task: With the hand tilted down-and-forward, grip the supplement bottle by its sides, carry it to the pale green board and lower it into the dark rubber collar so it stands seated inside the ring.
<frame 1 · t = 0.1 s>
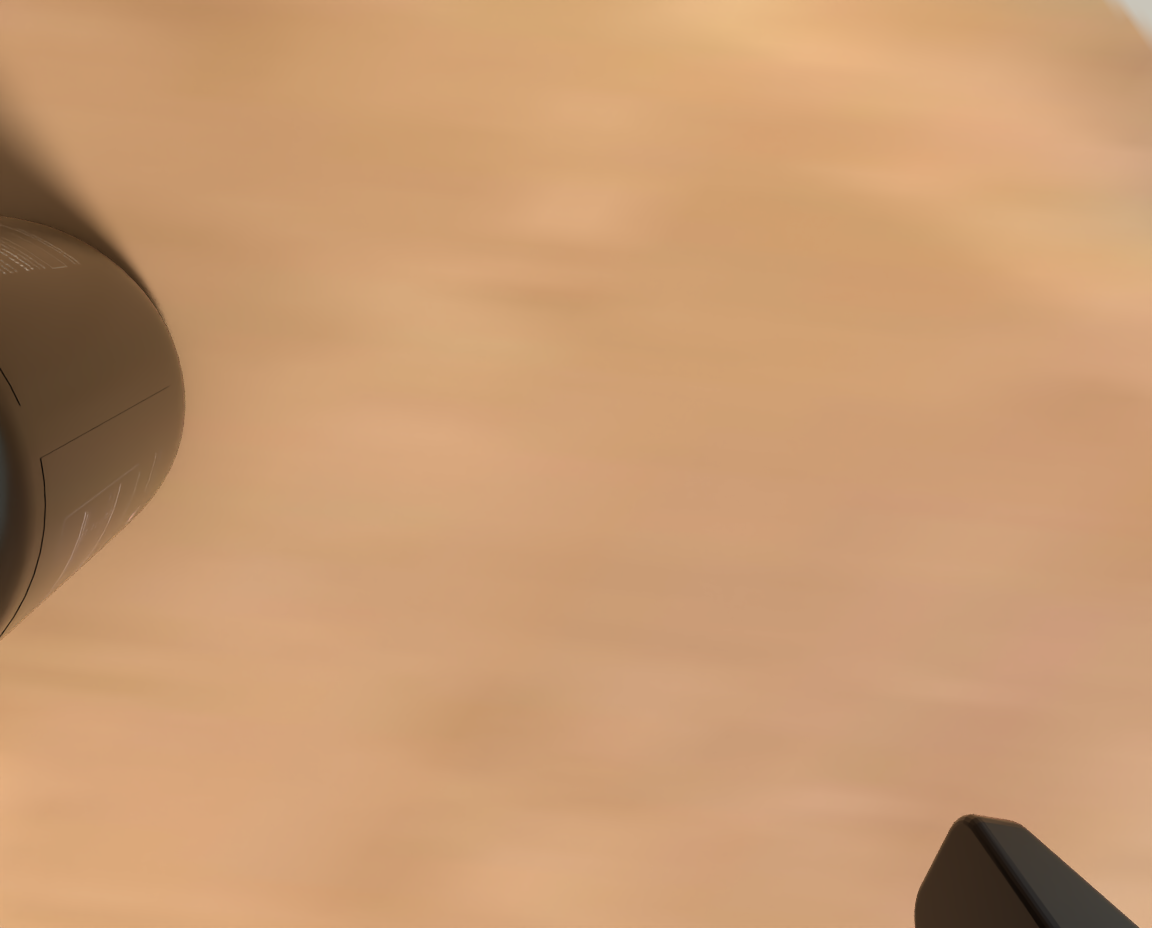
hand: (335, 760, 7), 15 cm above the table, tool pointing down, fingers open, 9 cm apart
supplement bottle: (24, 390, 22), on the table
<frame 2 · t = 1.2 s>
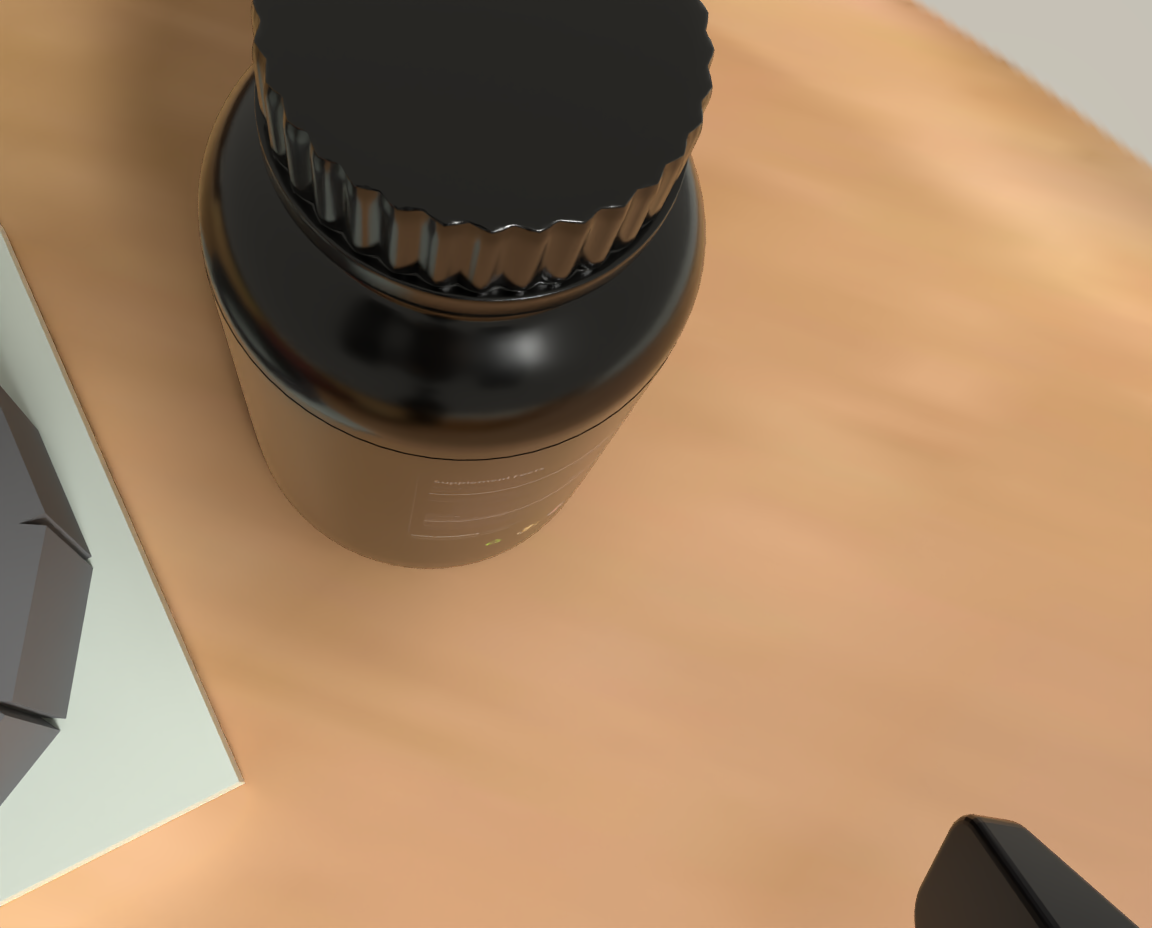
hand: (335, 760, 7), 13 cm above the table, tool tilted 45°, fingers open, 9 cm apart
supplement bottle: (427, 419, 22), on the table
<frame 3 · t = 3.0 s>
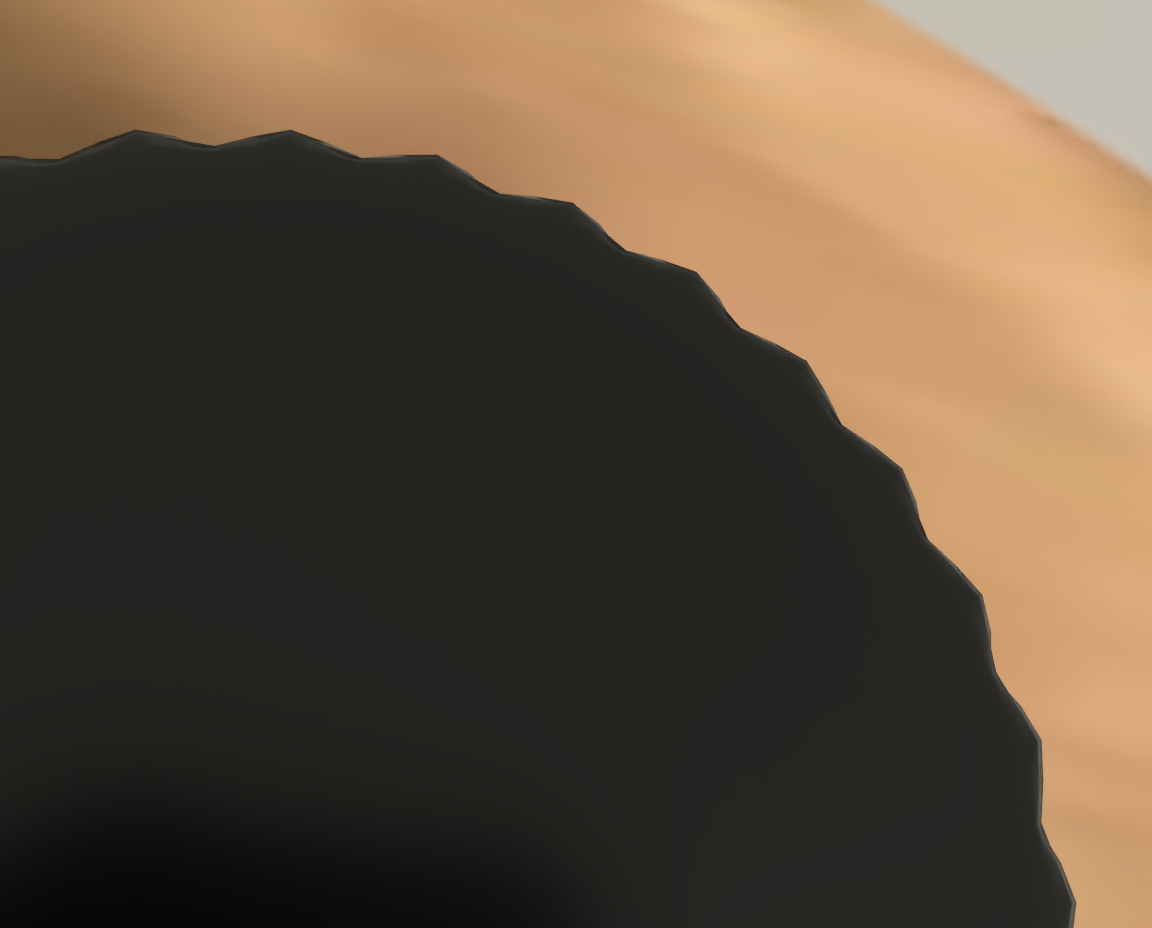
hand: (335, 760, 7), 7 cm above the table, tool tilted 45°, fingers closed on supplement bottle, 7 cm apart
supplement bottle: (341, 828, 14), on the table, touching gripper
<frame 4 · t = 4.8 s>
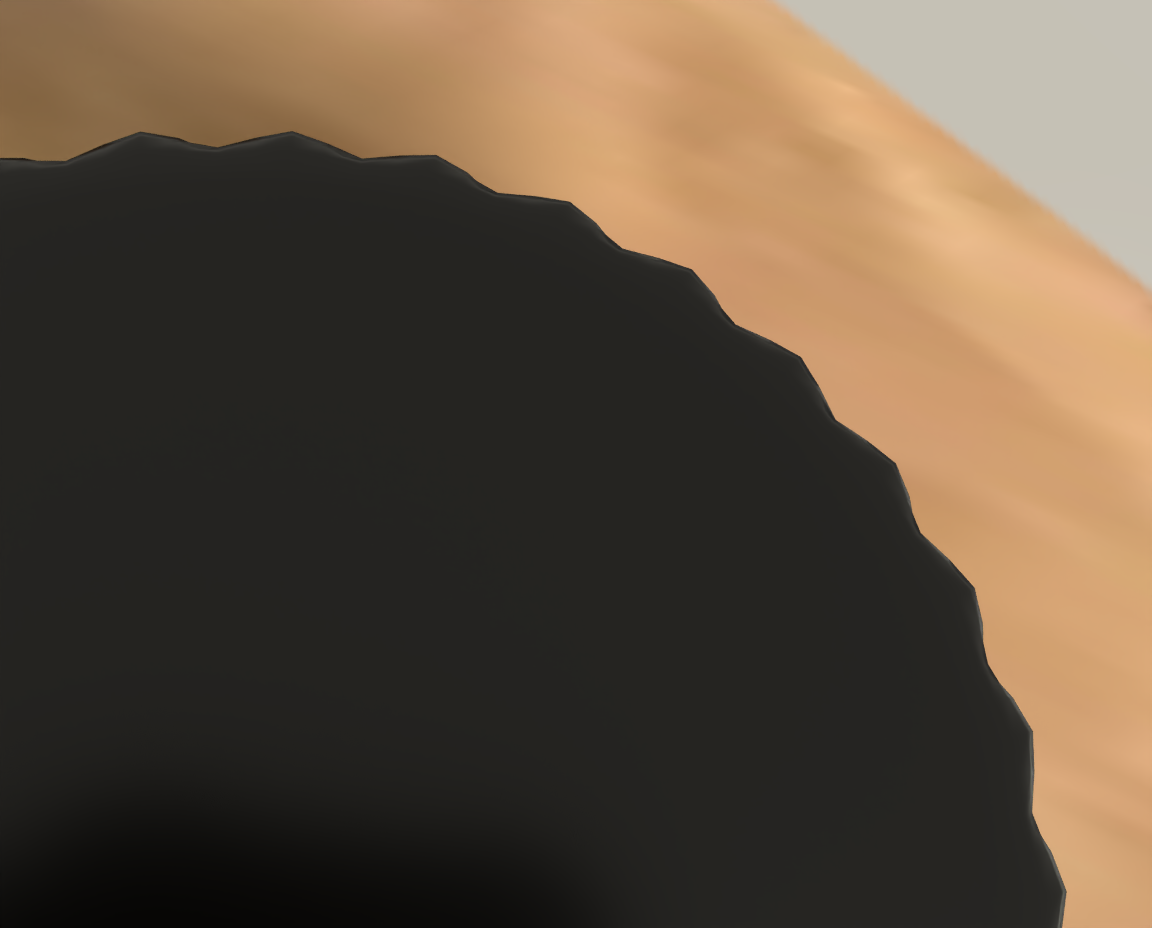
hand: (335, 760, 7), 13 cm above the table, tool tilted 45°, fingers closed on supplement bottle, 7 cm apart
supplement bottle: (351, 824, 14), point 6 cm above the table, touching gripper
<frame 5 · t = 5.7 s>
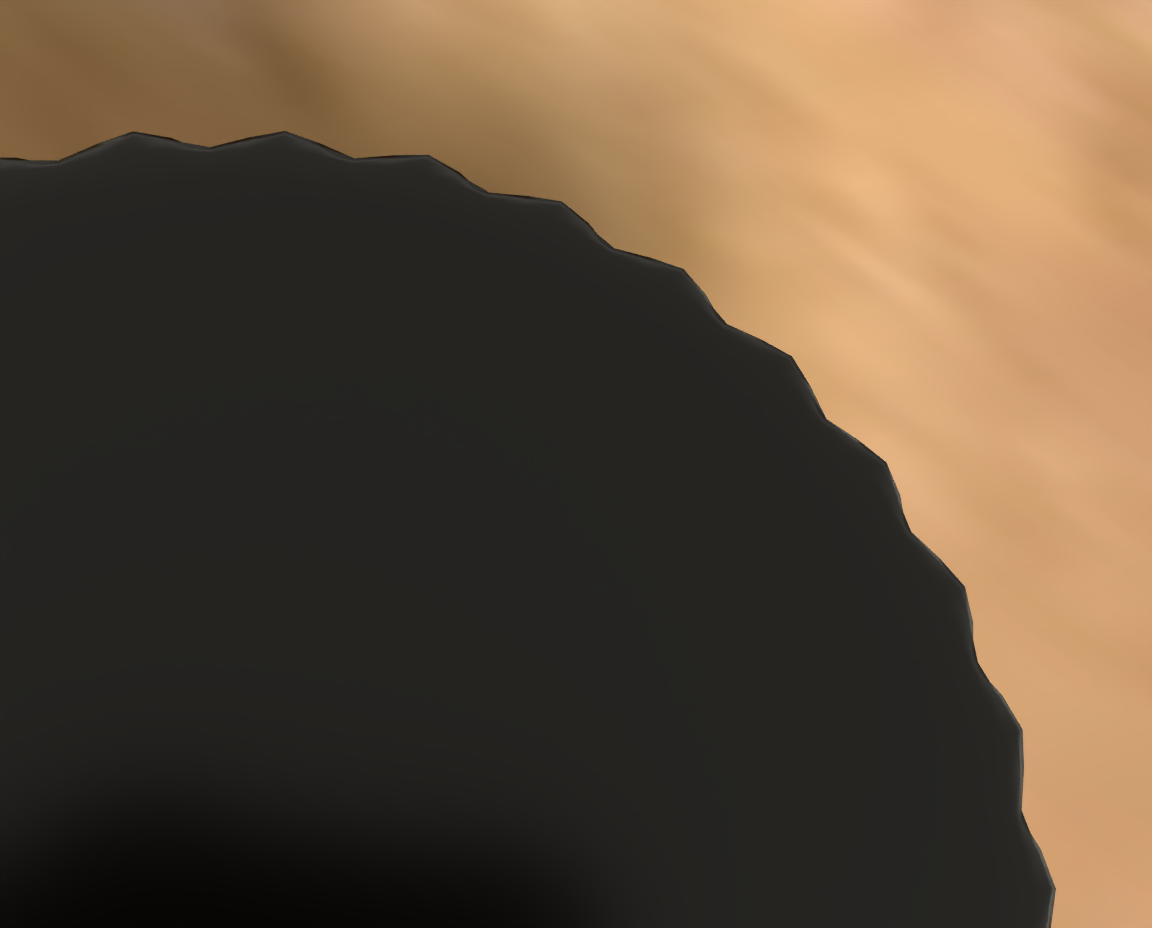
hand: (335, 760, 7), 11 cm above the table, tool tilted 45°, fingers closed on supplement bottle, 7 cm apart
supplement bottle: (348, 823, 14), point 4 cm above the table, touching gripper
when the fingers open (10 cm above the table, at t = 6.3 s): supplement bottle drops 2 cm, resting on board.
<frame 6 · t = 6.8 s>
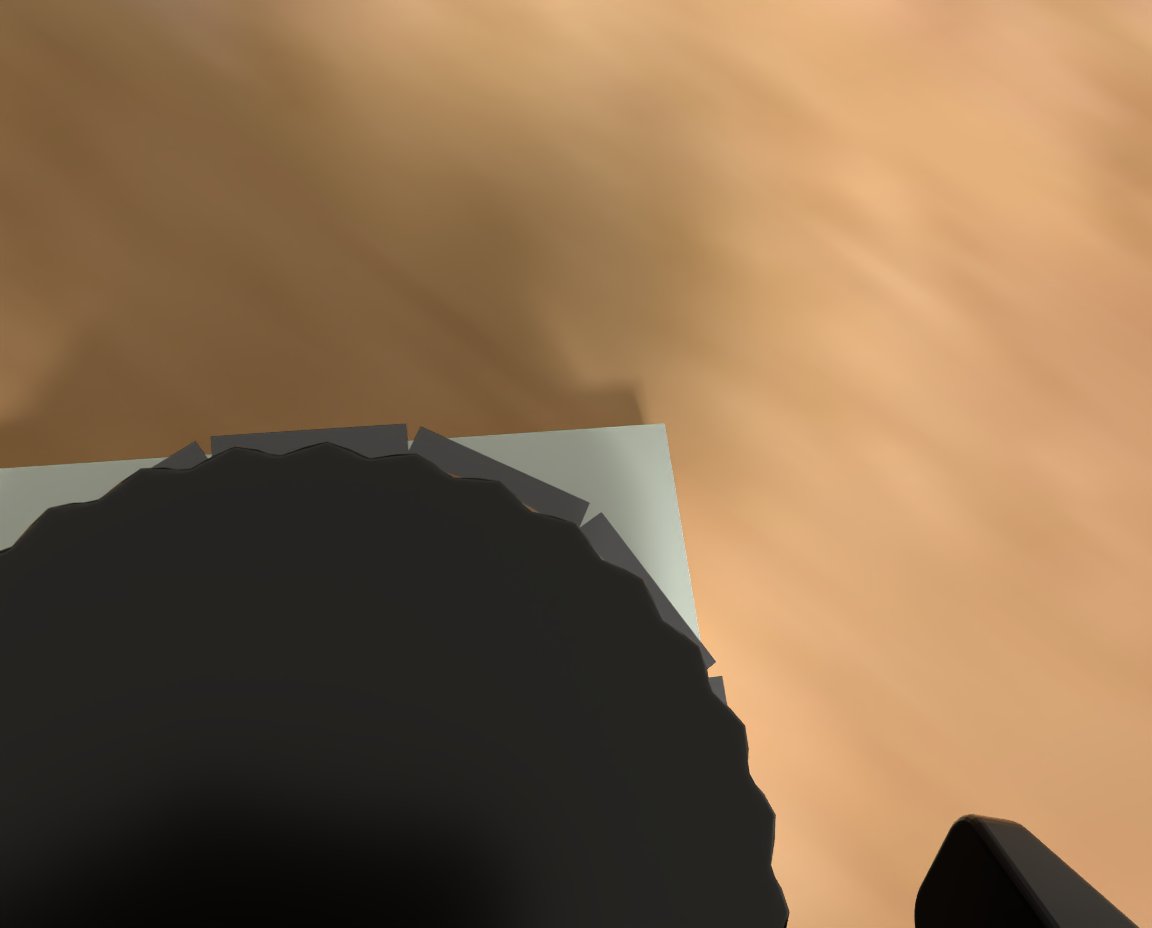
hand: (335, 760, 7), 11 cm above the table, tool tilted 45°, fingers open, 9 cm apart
collar: (340, 829, 15), on the board, point 2 cm above the table
supplement bottle: (346, 838, 16), point 1 cm above the table, touching board
board: (343, 826, 17), on the table
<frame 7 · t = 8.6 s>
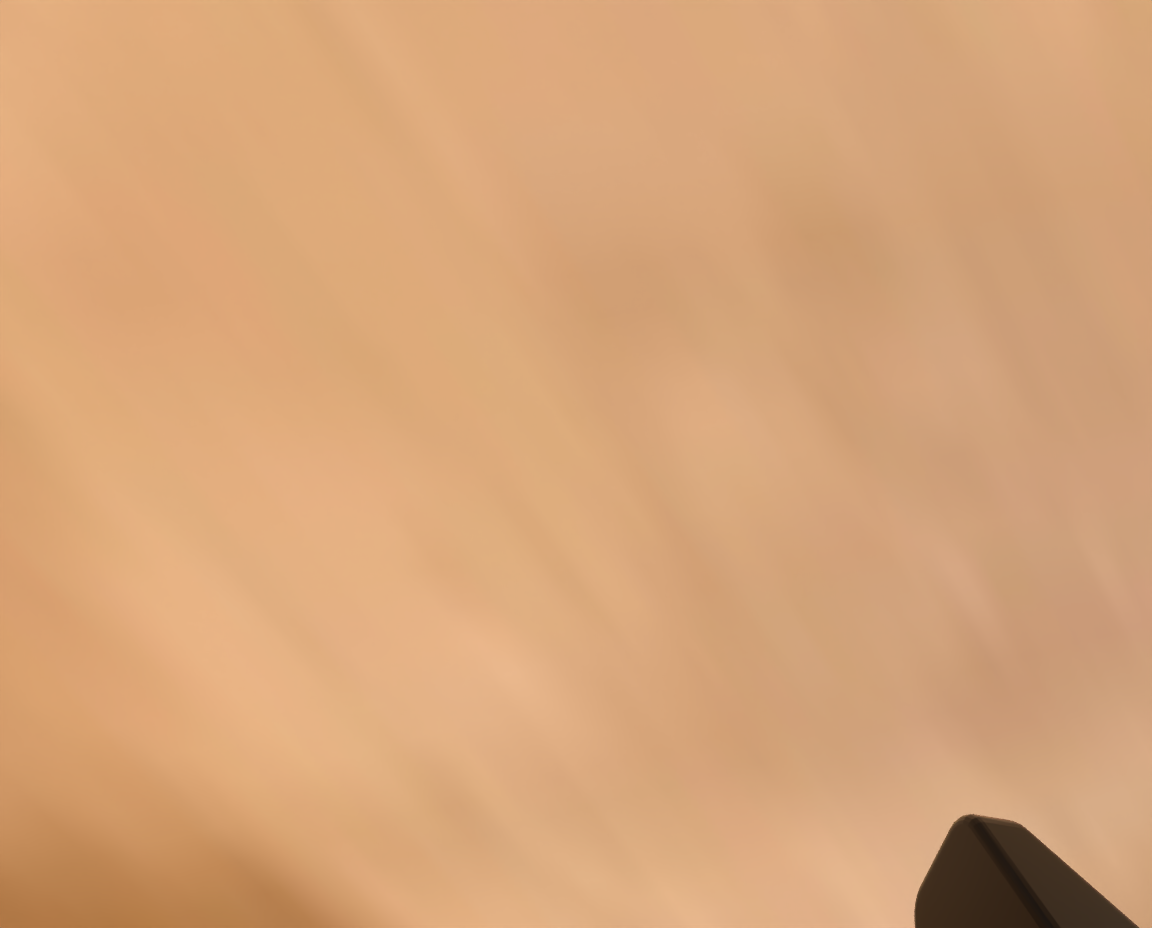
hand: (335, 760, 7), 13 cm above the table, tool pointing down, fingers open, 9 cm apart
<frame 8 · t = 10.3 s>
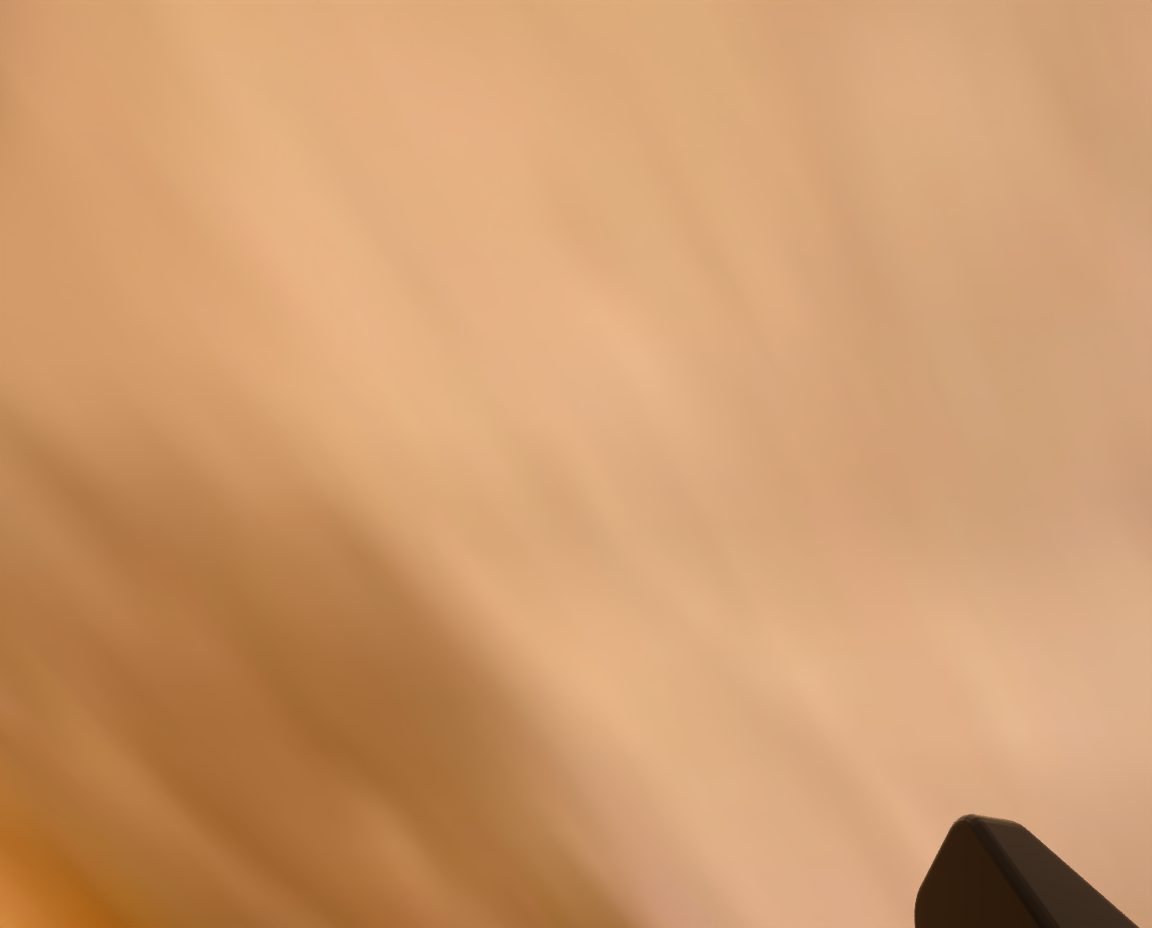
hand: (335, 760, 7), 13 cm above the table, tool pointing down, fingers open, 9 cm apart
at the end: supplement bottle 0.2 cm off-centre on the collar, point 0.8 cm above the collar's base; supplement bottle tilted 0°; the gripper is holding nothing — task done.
